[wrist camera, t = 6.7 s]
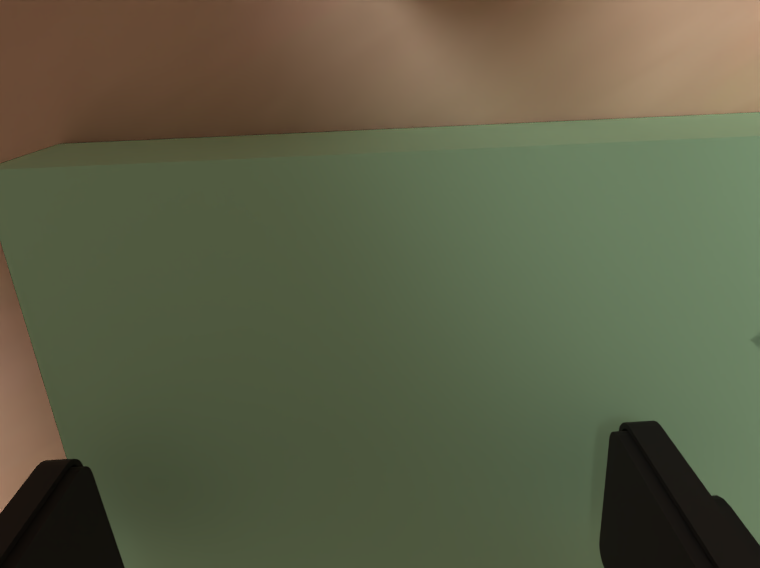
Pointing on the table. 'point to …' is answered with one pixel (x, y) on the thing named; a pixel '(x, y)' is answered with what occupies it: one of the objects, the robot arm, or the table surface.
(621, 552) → the robot arm
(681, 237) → the green plate with holes
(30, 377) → the table surface
